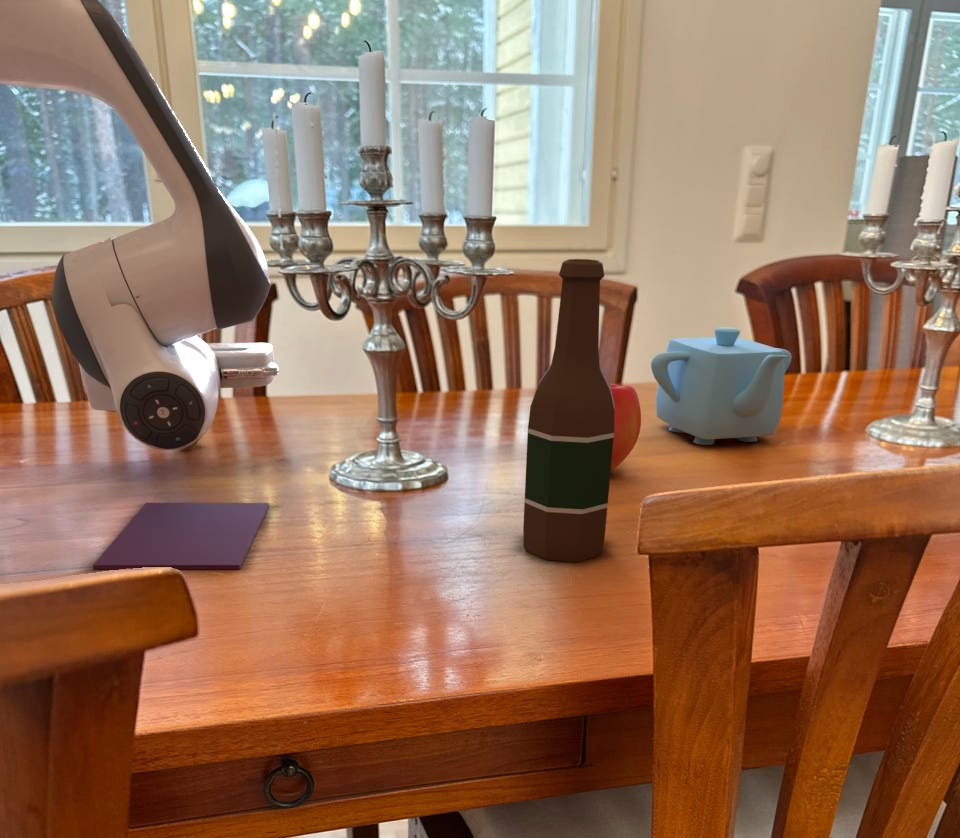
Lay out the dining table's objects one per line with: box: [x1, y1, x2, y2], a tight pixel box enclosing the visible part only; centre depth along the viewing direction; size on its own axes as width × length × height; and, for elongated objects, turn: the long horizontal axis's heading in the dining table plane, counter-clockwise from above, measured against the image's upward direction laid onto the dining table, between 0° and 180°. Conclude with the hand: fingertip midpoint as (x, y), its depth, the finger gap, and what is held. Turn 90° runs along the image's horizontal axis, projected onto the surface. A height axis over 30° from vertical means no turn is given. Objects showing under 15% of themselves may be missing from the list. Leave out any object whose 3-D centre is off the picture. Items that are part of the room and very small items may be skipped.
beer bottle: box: [522, 258, 615, 563], centre depth 75 cm, size 8×8×24 cm
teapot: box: [650, 326, 793, 446], centre depth 115 cm, size 18×16×14 cm
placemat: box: [92, 502, 270, 570], centre depth 81 cm, size 12×16×1 cm
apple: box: [609, 382, 642, 472], centre depth 100 cm, size 10×10×10 cm
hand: (183, 352), depth 103 cm, fingers closed on vegetable, 4 cm apart
